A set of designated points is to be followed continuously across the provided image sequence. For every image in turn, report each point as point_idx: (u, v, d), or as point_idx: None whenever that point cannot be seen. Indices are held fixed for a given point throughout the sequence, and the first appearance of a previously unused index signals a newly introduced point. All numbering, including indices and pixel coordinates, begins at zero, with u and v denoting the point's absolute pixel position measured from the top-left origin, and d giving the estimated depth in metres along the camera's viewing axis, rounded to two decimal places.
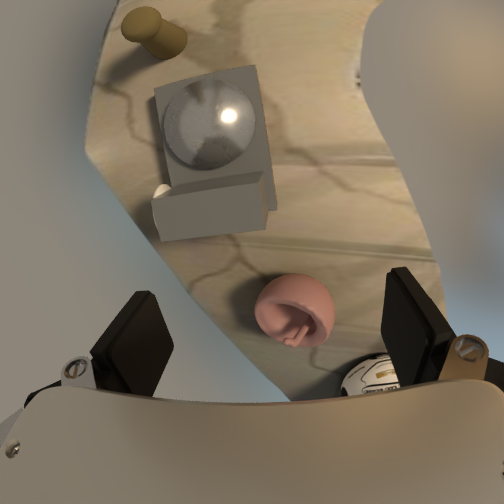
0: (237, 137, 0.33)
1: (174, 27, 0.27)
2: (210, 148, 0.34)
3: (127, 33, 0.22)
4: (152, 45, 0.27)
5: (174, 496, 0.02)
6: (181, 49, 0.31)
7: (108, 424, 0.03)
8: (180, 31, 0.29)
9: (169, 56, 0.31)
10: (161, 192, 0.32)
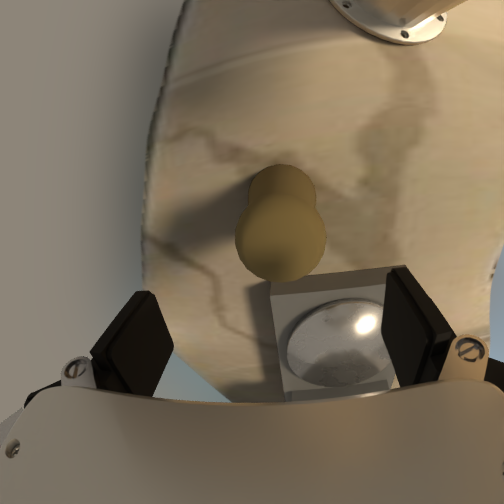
0: (374, 363, 0.26)
1: (313, 201, 0.20)
2: (342, 373, 0.27)
3: (260, 273, 0.15)
4: None
5: (174, 496, 0.02)
6: None
7: (108, 424, 0.03)
8: (314, 197, 0.22)
9: None
10: None
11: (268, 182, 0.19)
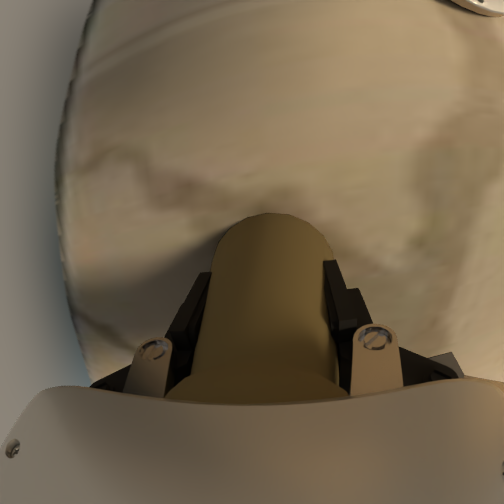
0: None
1: None
2: None
3: None
4: None
5: (174, 496, 0.02)
6: None
7: (108, 424, 0.03)
8: None
9: None
10: None
11: (238, 277, 0.09)
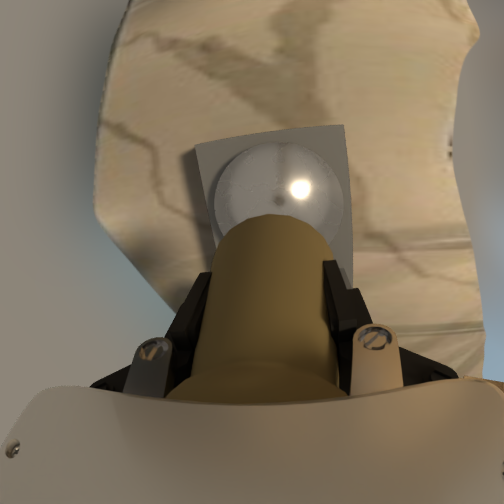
0: (318, 230, 0.26)
1: None
2: None
3: None
4: None
5: (174, 496, 0.02)
6: None
7: (108, 424, 0.03)
8: None
9: None
10: None
11: (238, 278, 0.09)
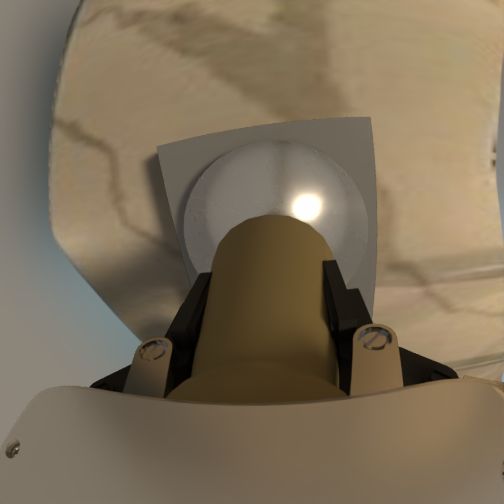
0: None
1: None
2: None
3: None
4: None
5: (174, 496, 0.02)
6: None
7: (108, 424, 0.03)
8: None
9: None
10: None
11: (238, 278, 0.09)
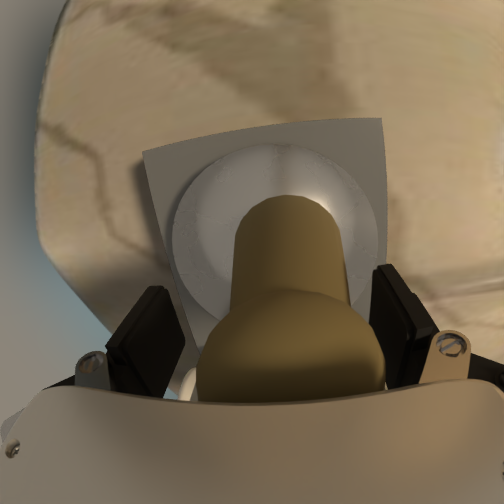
0: None
1: None
2: None
3: None
4: None
5: (174, 496, 0.02)
6: None
7: (108, 424, 0.03)
8: None
9: None
10: (188, 400, 0.15)
11: (266, 239, 0.11)
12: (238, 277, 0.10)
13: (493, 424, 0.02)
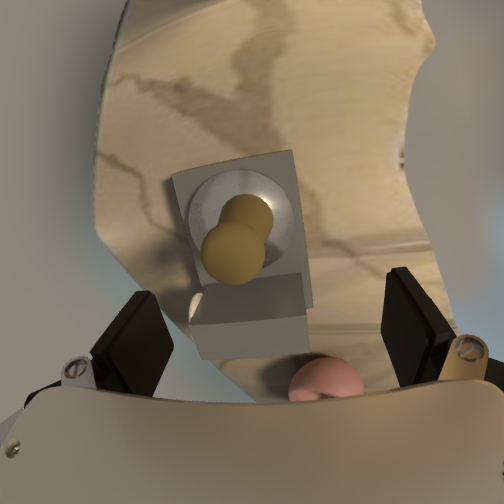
0: (274, 241, 0.32)
1: (265, 223, 0.27)
2: None
3: (217, 278, 0.22)
4: None
5: (174, 496, 0.02)
6: None
7: (108, 424, 0.03)
8: (269, 219, 0.28)
9: None
10: (195, 307, 0.31)
11: (229, 211, 0.26)
12: None
13: (493, 424, 0.02)
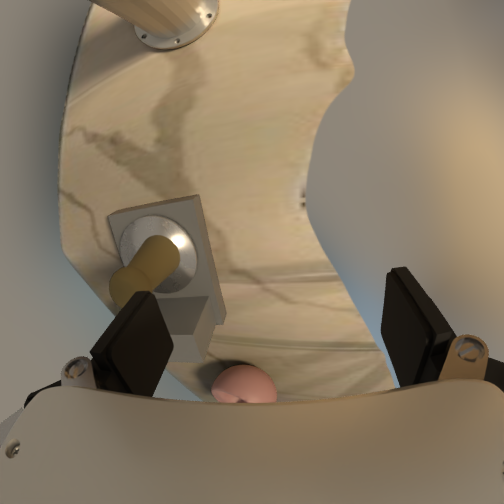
0: (182, 271, 0.38)
1: (164, 263, 0.34)
2: None
3: (120, 306, 0.29)
4: None
5: (174, 496, 0.02)
6: (175, 269, 0.38)
7: (108, 424, 0.03)
8: (171, 258, 0.35)
9: None
10: None
11: (137, 253, 0.33)
12: None
13: (493, 424, 0.02)
